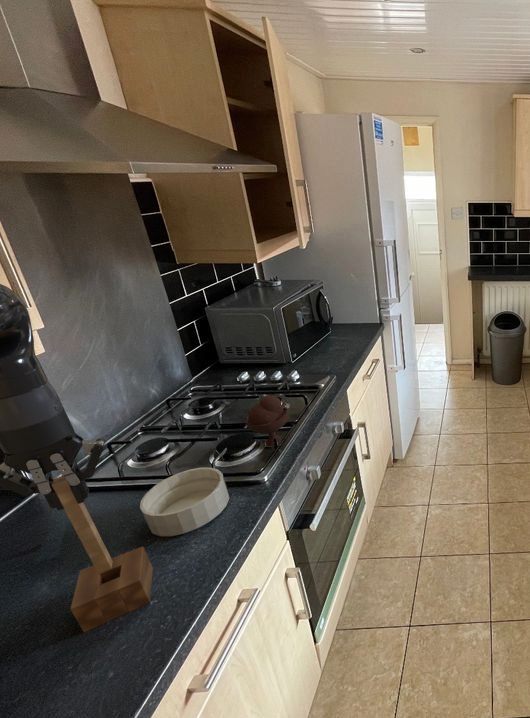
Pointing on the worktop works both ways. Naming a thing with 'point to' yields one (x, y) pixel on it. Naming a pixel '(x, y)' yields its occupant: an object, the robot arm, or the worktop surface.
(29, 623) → the worktop surface
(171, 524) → the mixing bowl
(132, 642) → the worktop surface
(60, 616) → the worktop surface
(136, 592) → the stick holder
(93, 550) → the stick
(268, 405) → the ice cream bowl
